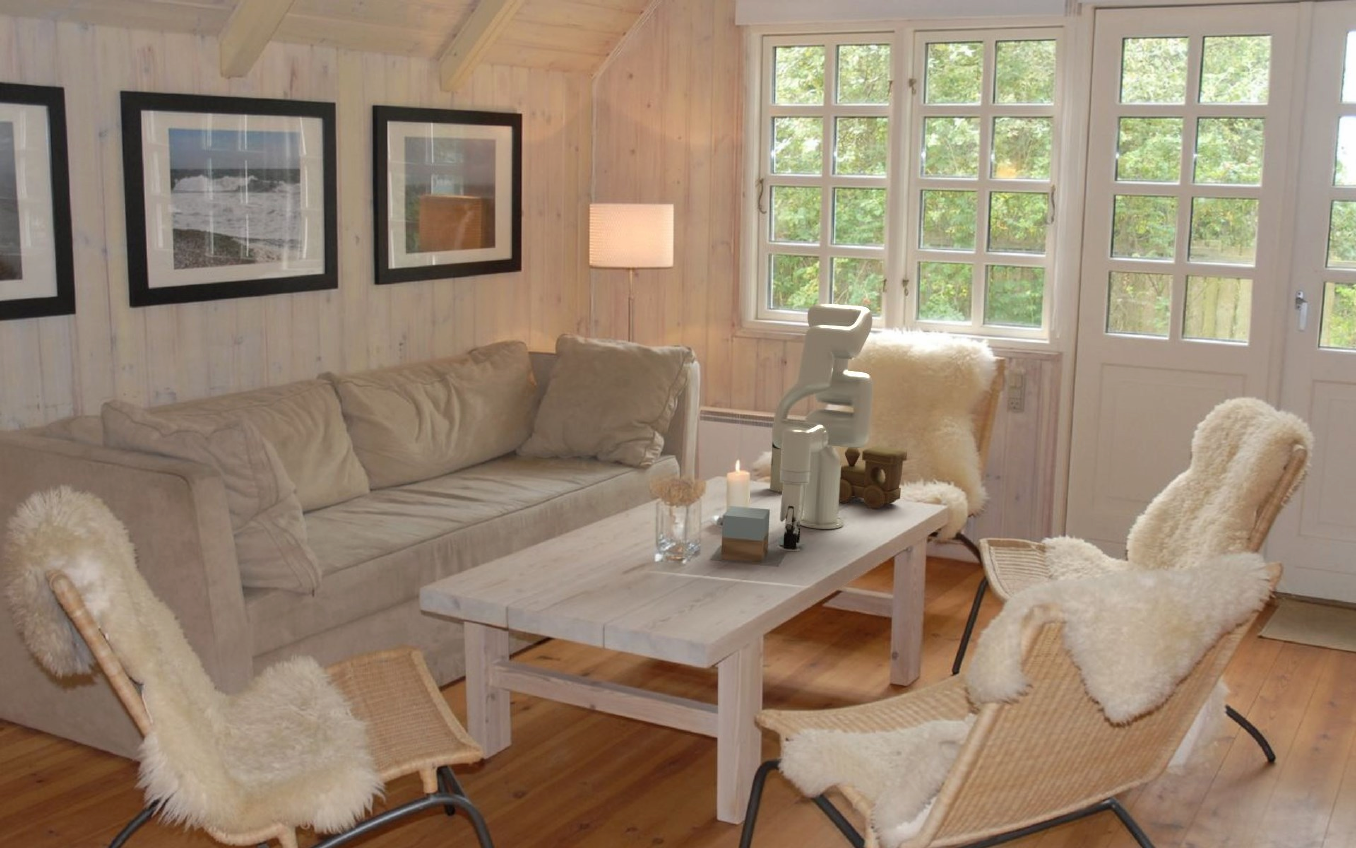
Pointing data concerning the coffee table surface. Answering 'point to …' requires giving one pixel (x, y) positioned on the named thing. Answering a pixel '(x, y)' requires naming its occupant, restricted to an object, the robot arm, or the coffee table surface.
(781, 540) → the pacifier
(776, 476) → the travel mug
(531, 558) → the coffee table surface
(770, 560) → the mat
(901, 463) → the wooden toy train
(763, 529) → the top block
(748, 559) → the bottom block
